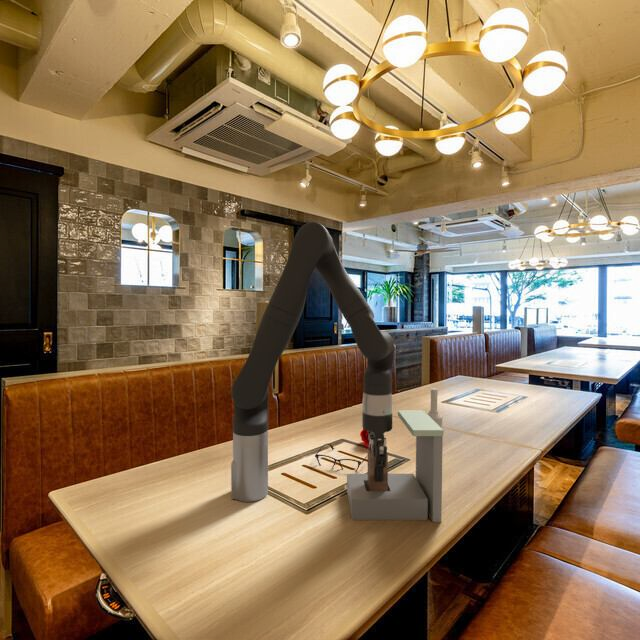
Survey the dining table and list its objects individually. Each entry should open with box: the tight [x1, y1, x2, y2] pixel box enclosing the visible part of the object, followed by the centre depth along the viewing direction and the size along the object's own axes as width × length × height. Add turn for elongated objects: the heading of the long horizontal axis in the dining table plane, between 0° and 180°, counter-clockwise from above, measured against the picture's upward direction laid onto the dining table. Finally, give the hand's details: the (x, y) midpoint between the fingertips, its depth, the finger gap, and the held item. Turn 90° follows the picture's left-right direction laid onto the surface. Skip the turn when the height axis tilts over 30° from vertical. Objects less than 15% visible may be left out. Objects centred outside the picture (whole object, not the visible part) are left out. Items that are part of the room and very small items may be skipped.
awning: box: [397, 409, 444, 523], centre depth 100 cm, size 7×17×22 cm, turn 1°
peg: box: [367, 447, 389, 491], centre depth 100 cm, size 4×4×10 cm
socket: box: [346, 473, 428, 521], centre depth 100 cm, size 18×14×5 cm
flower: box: [359, 428, 369, 448], centre depth 144 cm, size 8×8×8 cm
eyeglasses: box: [314, 443, 368, 472], centre depth 129 cm, size 16×16×4 cm
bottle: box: [426, 387, 443, 429], centre depth 122 cm, size 5×5×25 cm
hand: (377, 476), depth 100 cm, fingers closed on peg, 4 cm apart
